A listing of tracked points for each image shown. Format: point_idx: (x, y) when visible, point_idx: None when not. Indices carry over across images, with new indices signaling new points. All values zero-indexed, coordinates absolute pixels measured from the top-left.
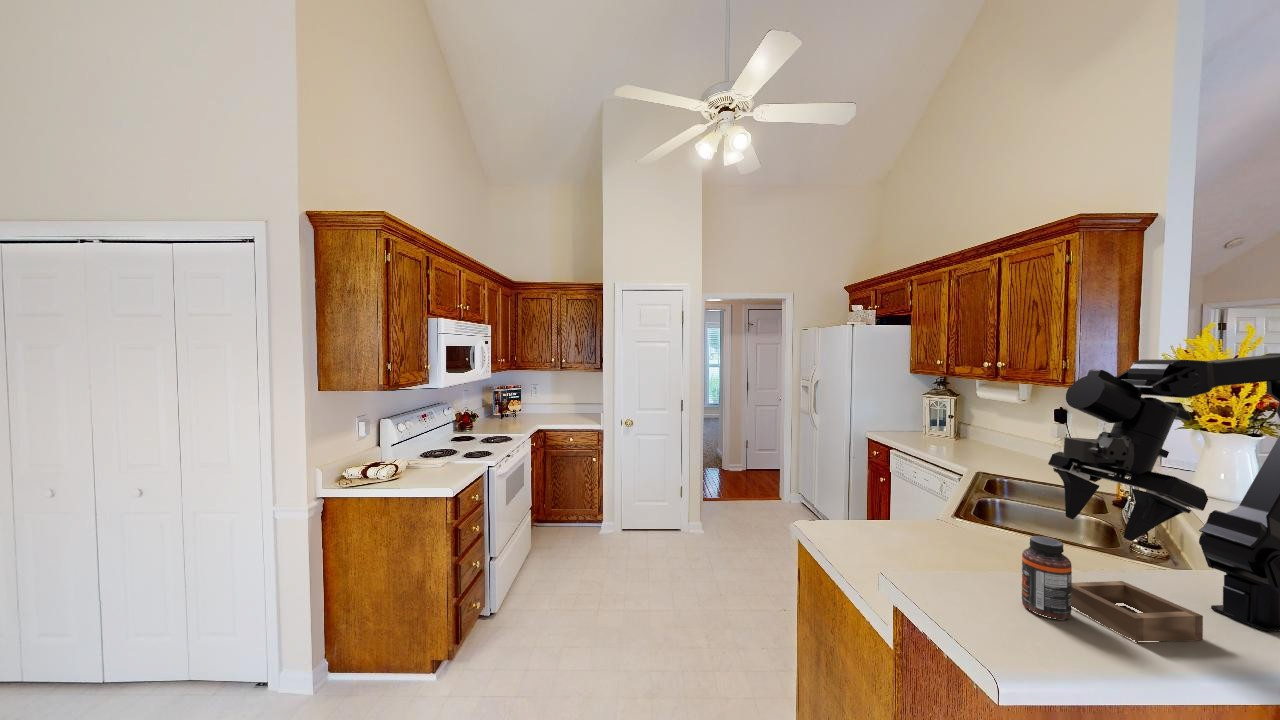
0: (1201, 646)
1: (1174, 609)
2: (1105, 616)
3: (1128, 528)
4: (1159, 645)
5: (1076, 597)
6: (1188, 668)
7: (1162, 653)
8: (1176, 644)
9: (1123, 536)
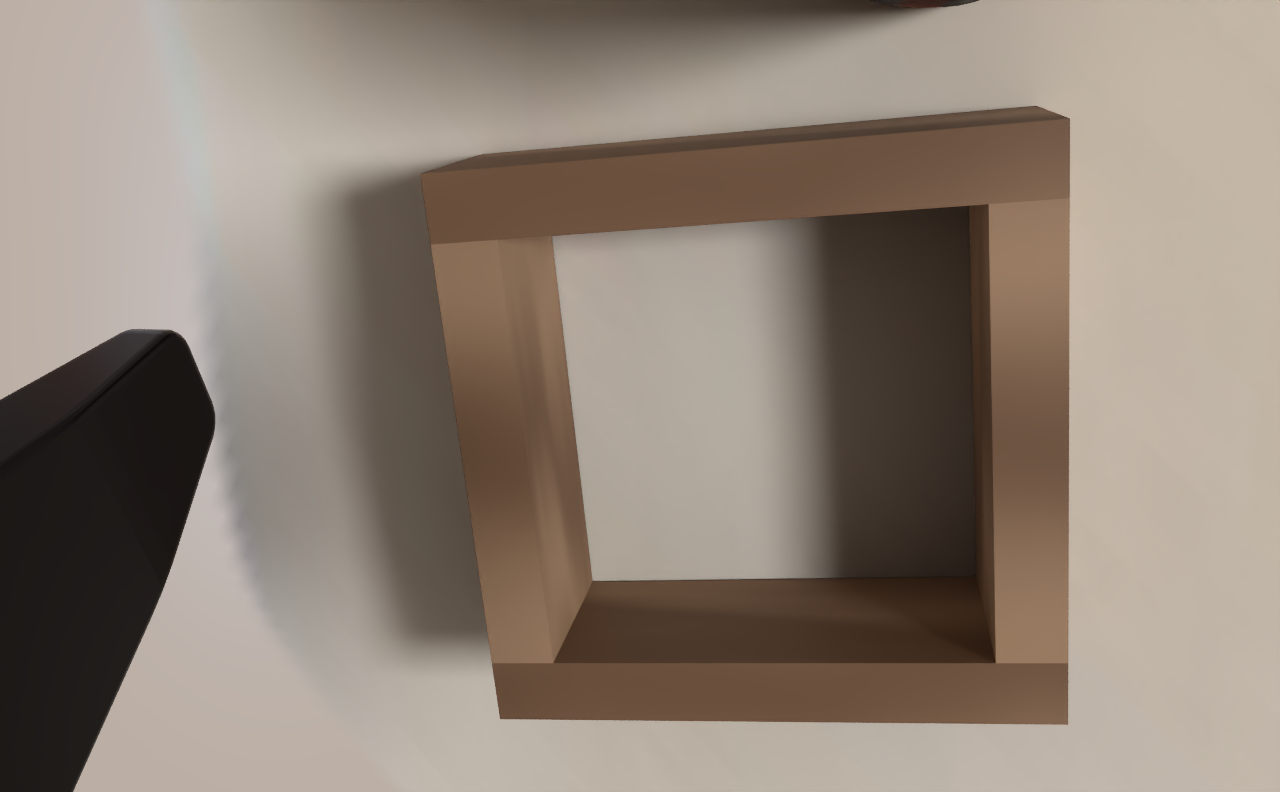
0: None
1: (619, 651)
2: (671, 144)
3: (14, 415)
4: None
5: (923, 124)
6: (241, 217)
7: (382, 221)
8: None
9: (163, 331)
